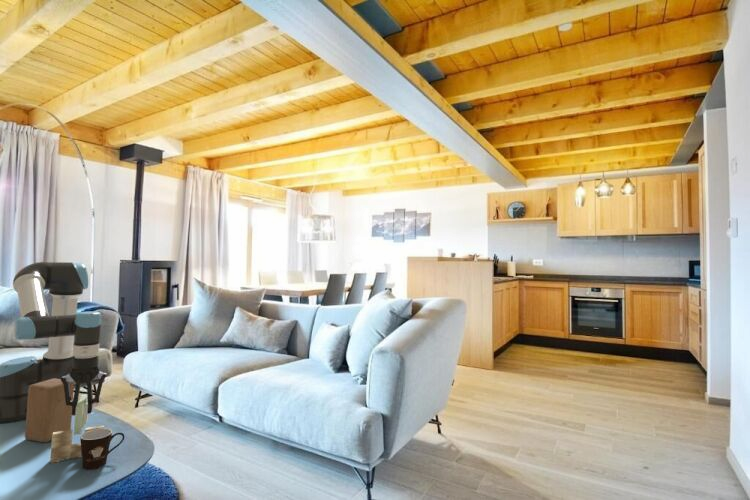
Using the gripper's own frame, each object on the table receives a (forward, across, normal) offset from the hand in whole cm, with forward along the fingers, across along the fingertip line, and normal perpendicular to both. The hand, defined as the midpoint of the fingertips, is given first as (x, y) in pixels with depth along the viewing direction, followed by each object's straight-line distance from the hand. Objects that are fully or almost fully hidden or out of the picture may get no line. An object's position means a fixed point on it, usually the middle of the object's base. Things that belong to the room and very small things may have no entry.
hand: (81, 423), depth 138 cm
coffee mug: (+10, +7, -14) cm, 18 cm away
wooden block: (+9, -12, +17) cm, 23 cm away
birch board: (+9, 0, -5) cm, 11 cm away
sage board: (0, 0, -2) cm, 2 cm away
